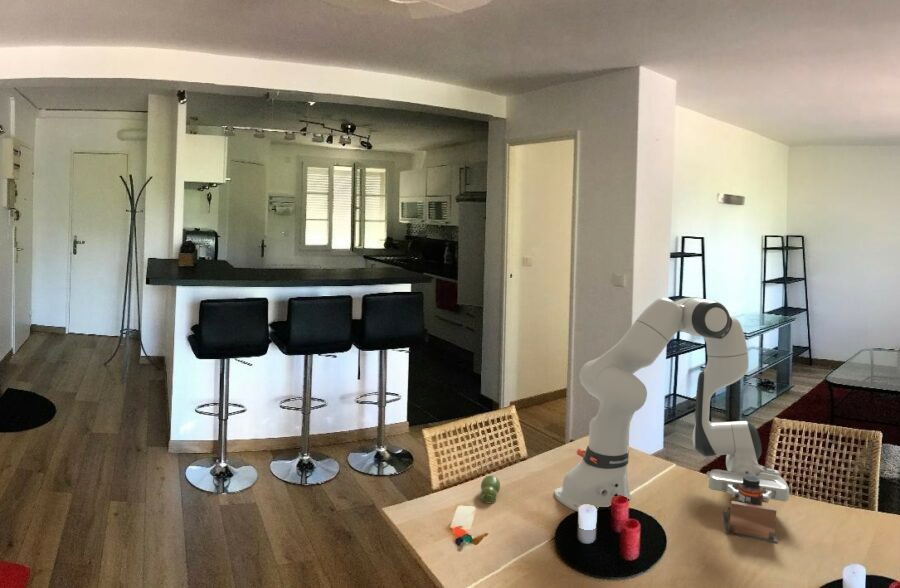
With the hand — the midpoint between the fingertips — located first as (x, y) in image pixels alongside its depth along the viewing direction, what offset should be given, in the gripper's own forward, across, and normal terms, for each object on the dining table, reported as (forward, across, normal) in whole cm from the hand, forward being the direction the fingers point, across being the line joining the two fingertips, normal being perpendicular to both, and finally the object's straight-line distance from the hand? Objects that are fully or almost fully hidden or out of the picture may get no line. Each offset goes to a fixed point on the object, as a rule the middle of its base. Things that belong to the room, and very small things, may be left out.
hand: (750, 497), depth 165 cm
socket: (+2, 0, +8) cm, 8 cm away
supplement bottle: (-1, 0, +6) cm, 6 cm away
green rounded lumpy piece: (+10, -70, +8) cm, 71 cm away
